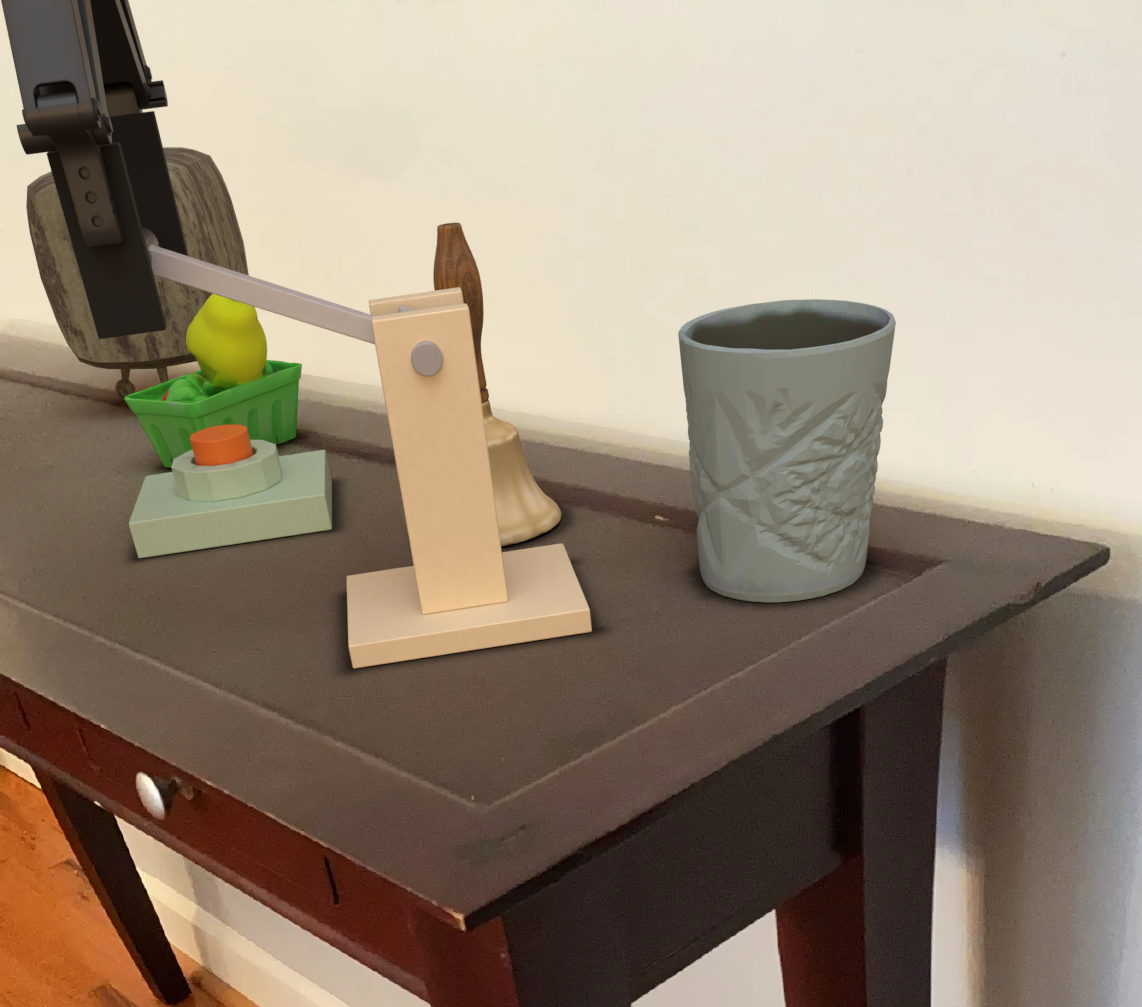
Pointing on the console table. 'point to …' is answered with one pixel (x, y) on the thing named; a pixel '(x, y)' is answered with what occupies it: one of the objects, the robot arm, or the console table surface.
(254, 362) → the fruit basket
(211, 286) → the press lever
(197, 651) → the console table surface
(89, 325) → the tabletop clock
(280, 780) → the console table surface
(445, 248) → the hand bell
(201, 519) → the button block
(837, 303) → the drinking glass
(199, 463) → the orange push button
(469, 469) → the lever bracket
